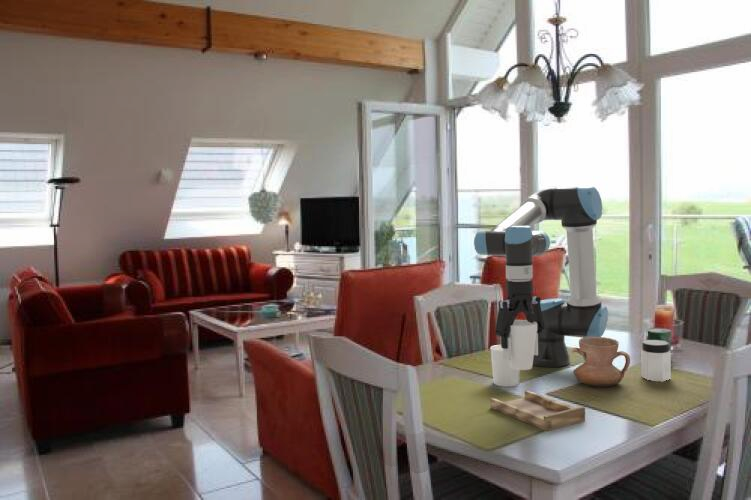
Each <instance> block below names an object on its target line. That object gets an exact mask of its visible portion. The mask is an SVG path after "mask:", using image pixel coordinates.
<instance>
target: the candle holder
mask: <svg viewBox="0 0 751 500" xmlns="http://www.w3.org/2000/svg"><path fill="white" fill-rule="evenodd" d="M489 349H490V355H491V356H490V357H491V370H492V379H493V384H494V385H495V386H499V387H504V388H505V387H506V388H507V387H508V388H509V387H510V388H511V387H516V386H518V385H519V384H520V373H521V372H520V371H521V370H515V369H511V368H510V365H509V360H506V359H503V348H502V347H501V343H500V344H496V345H491V346H490V348H489Z"/></svg>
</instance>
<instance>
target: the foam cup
mask: <svg viewBox="0 0 751 500" xmlns="http://www.w3.org/2000/svg"><path fill="white" fill-rule="evenodd" d="M536 332H537V322H533V323H530V322H528V321H527V319H515V320H514V323H513V325H511V331H510V334H509V336H508V337H511V360H510V361H509V365H510V368H511V369H515V370H520V371H527V370H528V371H529V370H531V369H532V370H533V366H534V365H533V358H534V349H535V340H536Z"/></svg>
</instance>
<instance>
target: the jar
mask: <svg viewBox="0 0 751 500" xmlns="http://www.w3.org/2000/svg"><path fill="white" fill-rule="evenodd" d="M641 345H642V346H641V347H642V348H641V349H640V377H641V378H643V379H644V378H645V379H644V380H646V379H647V380H646V381H648V380H651V382H659V381H660V382H659V383H662V382H666V380H667V381H669V379H670V380H671V379H672V376H671V375H672V374H671V372H672V369H671V366H672V363H671V362H672V353H671V352H672V351H669V343H668V342H666V341H661V340H648V339H647V340H643V341H642V344H641Z"/></svg>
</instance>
